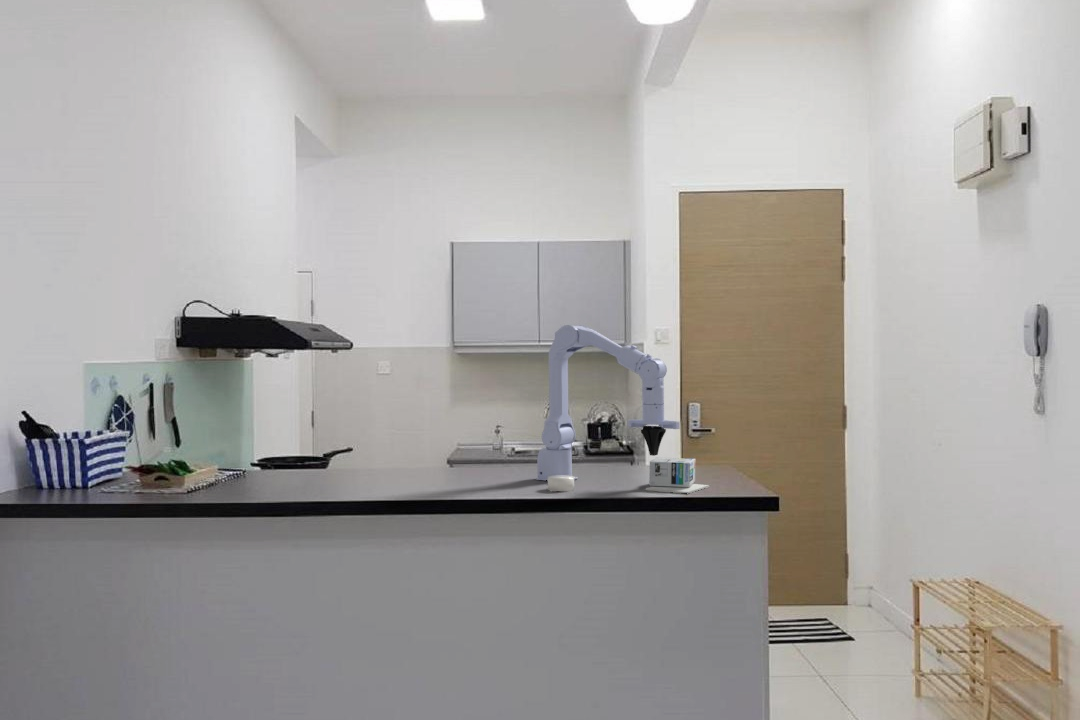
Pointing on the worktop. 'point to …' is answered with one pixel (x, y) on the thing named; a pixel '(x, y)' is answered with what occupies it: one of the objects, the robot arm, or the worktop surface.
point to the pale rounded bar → (561, 483)
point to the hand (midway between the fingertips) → (653, 455)
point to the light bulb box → (672, 472)
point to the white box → (678, 488)
